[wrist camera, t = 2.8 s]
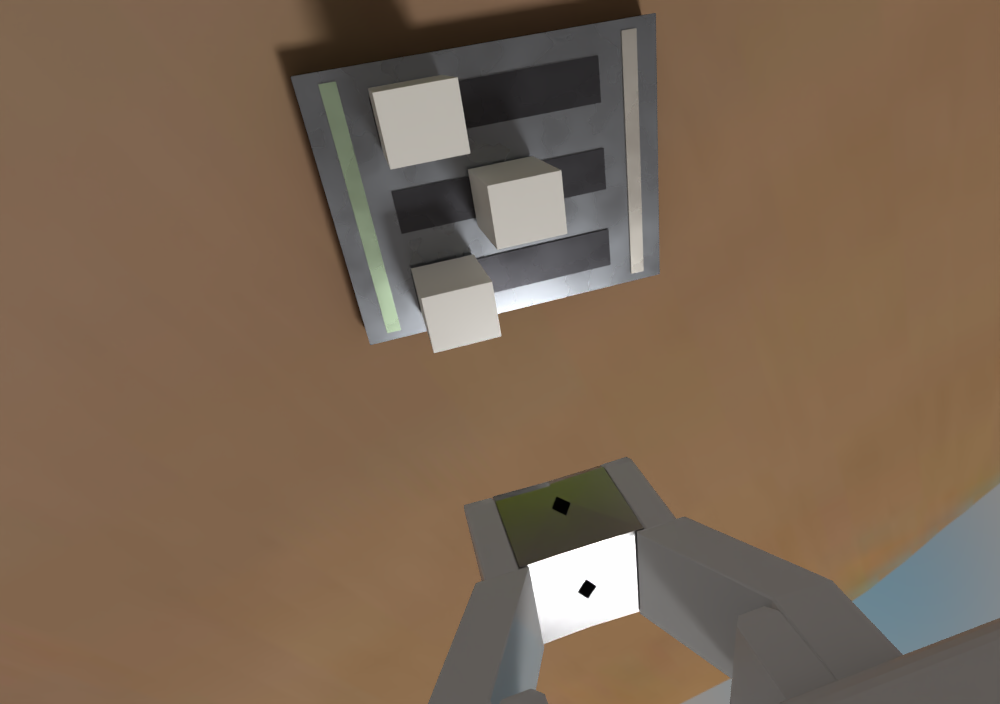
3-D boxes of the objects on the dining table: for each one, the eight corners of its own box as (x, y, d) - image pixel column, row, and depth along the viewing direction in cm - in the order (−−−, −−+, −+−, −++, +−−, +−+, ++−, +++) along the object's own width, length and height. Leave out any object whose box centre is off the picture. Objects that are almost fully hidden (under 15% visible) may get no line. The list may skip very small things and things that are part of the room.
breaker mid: (532, 156, 30) (561, 170, 26) (539, 212, 31) (567, 234, 27) (467, 169, 29) (487, 185, 25) (477, 226, 31) (497, 249, 27)
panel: (641, 15, 30) (656, 13, 28) (648, 266, 36) (660, 274, 35) (293, 75, 27) (290, 76, 26) (369, 334, 34) (370, 345, 33)
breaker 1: (440, 74, 27) (457, 77, 23) (452, 140, 28) (470, 153, 25) (367, 88, 27) (372, 92, 23) (383, 154, 28) (390, 169, 24)
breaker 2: (473, 254, 31) (492, 281, 28) (482, 303, 33) (501, 336, 29) (411, 268, 31) (421, 298, 27) (422, 317, 32) (434, 353, 28)
